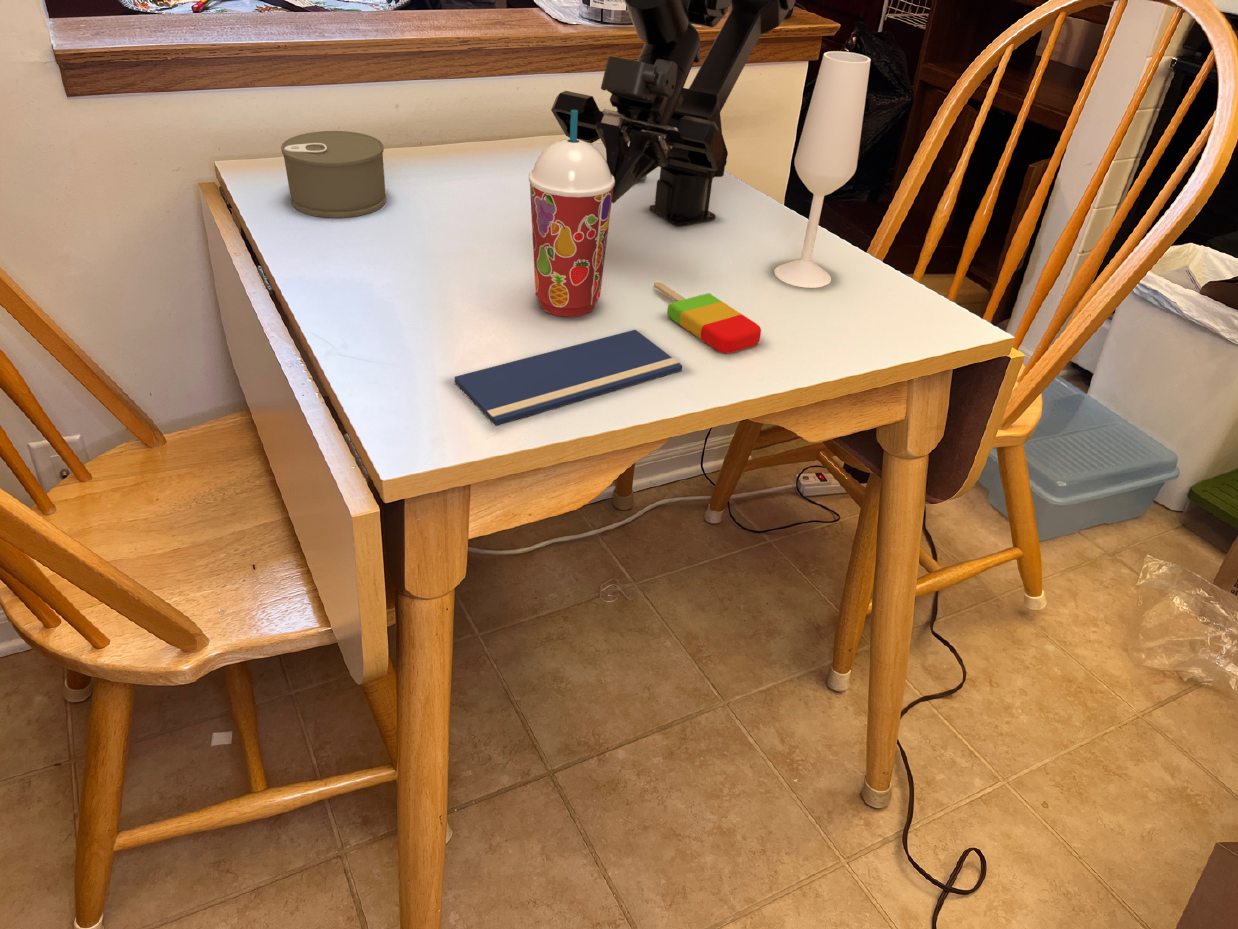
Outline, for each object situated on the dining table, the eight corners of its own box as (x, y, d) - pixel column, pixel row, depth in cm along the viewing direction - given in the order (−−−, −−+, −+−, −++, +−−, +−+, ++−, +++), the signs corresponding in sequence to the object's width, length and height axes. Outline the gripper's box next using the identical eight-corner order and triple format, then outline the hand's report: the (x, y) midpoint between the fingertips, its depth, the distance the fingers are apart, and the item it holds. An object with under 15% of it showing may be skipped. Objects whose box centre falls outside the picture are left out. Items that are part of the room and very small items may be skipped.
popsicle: (722, 357, 90) (725, 340, 89) (635, 295, 99) (636, 280, 98) (764, 344, 93) (767, 328, 91) (675, 285, 102) (676, 270, 101)
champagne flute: (796, 258, 111) (838, 46, 96) (842, 277, 107) (893, 60, 93) (762, 272, 107) (800, 53, 92) (809, 293, 103) (856, 68, 89)
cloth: (634, 334, 92) (635, 328, 92) (682, 370, 87) (682, 364, 87) (454, 382, 83) (454, 375, 82) (495, 426, 78) (495, 419, 77)
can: (394, 215, 113) (389, 159, 109) (292, 221, 109) (284, 164, 105) (380, 181, 122) (376, 128, 118) (286, 186, 118) (278, 132, 114)
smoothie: (621, 303, 98) (636, 110, 86) (577, 332, 92) (586, 130, 80) (558, 280, 101) (563, 92, 89) (511, 307, 95) (510, 110, 83)
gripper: (562, 8, 95) (506, 142, 93) (730, 38, 89) (673, 181, 87) (593, 74, 105) (543, 195, 104) (745, 104, 99) (694, 233, 98)
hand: (609, 200), depth 98 cm, fingers closed
